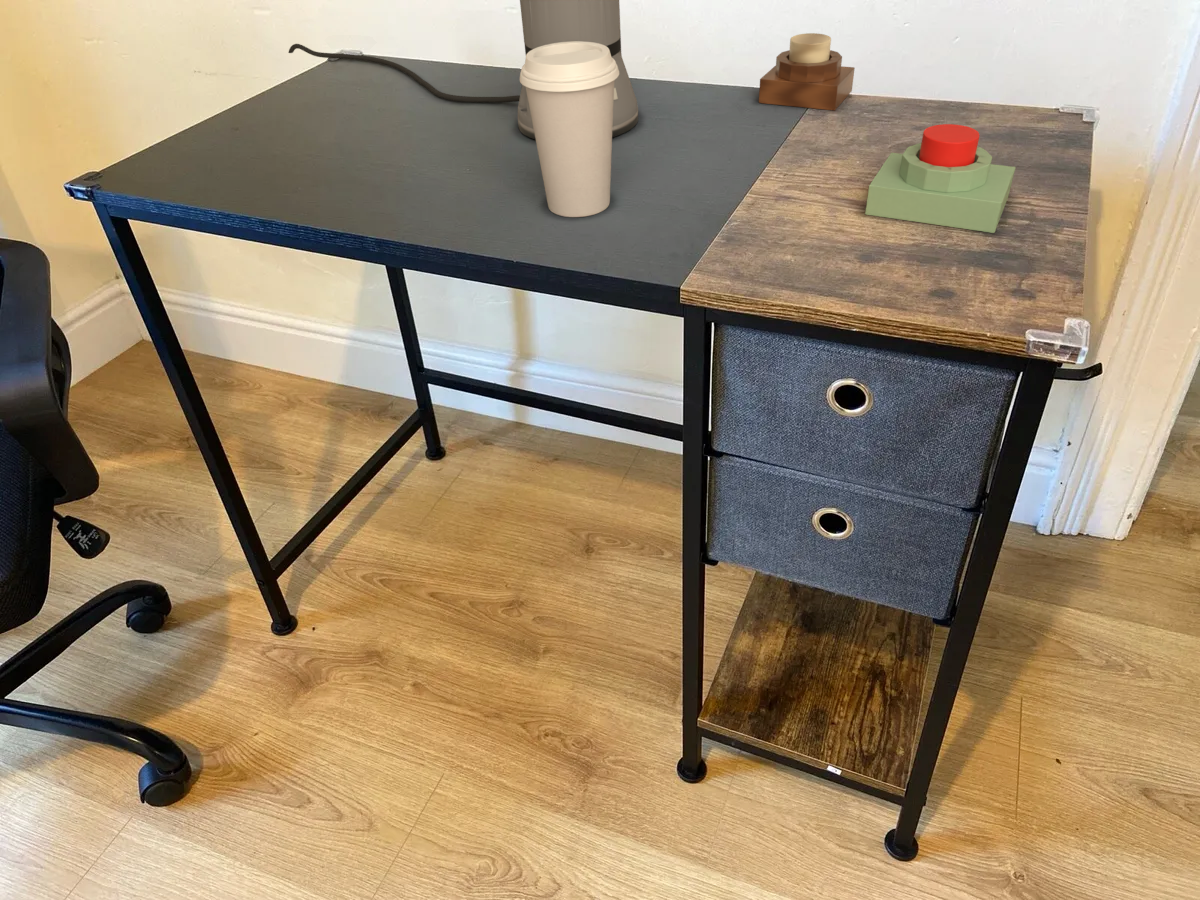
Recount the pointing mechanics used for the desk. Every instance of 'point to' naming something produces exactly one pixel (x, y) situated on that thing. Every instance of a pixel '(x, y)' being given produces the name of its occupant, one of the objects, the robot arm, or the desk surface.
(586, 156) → the coffee cup
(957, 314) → the desk surface
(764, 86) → the wooden square base
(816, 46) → the far button
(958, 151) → the near button
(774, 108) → the desk surface
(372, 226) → the desk surface
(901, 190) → the sage console
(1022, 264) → the desk surface
